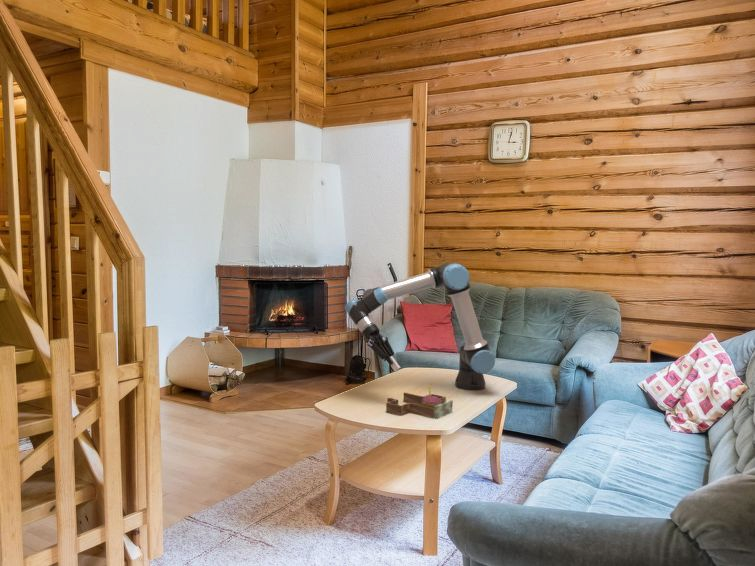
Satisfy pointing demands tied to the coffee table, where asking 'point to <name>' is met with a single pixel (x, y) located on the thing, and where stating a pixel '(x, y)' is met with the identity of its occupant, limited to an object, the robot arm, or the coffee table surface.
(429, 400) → the cupcake
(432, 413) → the trap lane
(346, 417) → the coffee table surface
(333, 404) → the coffee table surface
